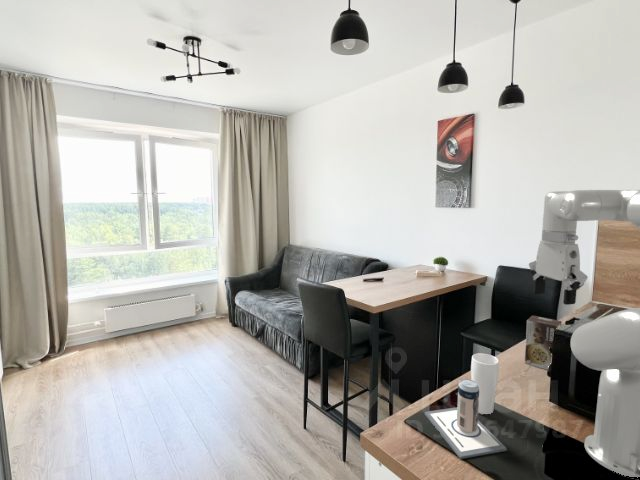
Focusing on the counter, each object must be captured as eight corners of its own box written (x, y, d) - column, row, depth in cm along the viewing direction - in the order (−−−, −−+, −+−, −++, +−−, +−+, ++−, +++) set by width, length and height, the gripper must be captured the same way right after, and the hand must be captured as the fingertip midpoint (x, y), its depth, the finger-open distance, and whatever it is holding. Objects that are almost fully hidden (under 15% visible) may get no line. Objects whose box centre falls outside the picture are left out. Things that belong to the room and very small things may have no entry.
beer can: (479, 435, 84) (482, 389, 83) (459, 433, 85) (461, 387, 83) (474, 422, 89) (476, 378, 87) (454, 420, 89) (456, 377, 88)
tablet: (506, 450, 80) (506, 447, 80) (460, 459, 78) (460, 456, 77) (463, 408, 96) (464, 405, 96) (424, 414, 94) (424, 411, 93)
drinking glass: (499, 419, 91) (502, 365, 89) (472, 416, 92) (474, 363, 90) (492, 403, 98) (495, 354, 96) (466, 401, 99) (469, 352, 97)
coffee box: (559, 365, 119) (562, 321, 117) (554, 372, 114) (558, 326, 112) (529, 357, 125) (532, 314, 123) (523, 363, 121) (526, 319, 119)
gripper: (601, 240, 85) (595, 307, 87) (543, 233, 102) (539, 289, 104) (576, 242, 84) (570, 309, 86) (521, 234, 101) (517, 291, 103)
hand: (553, 298), depth 95 cm, fingers open, 9 cm apart
